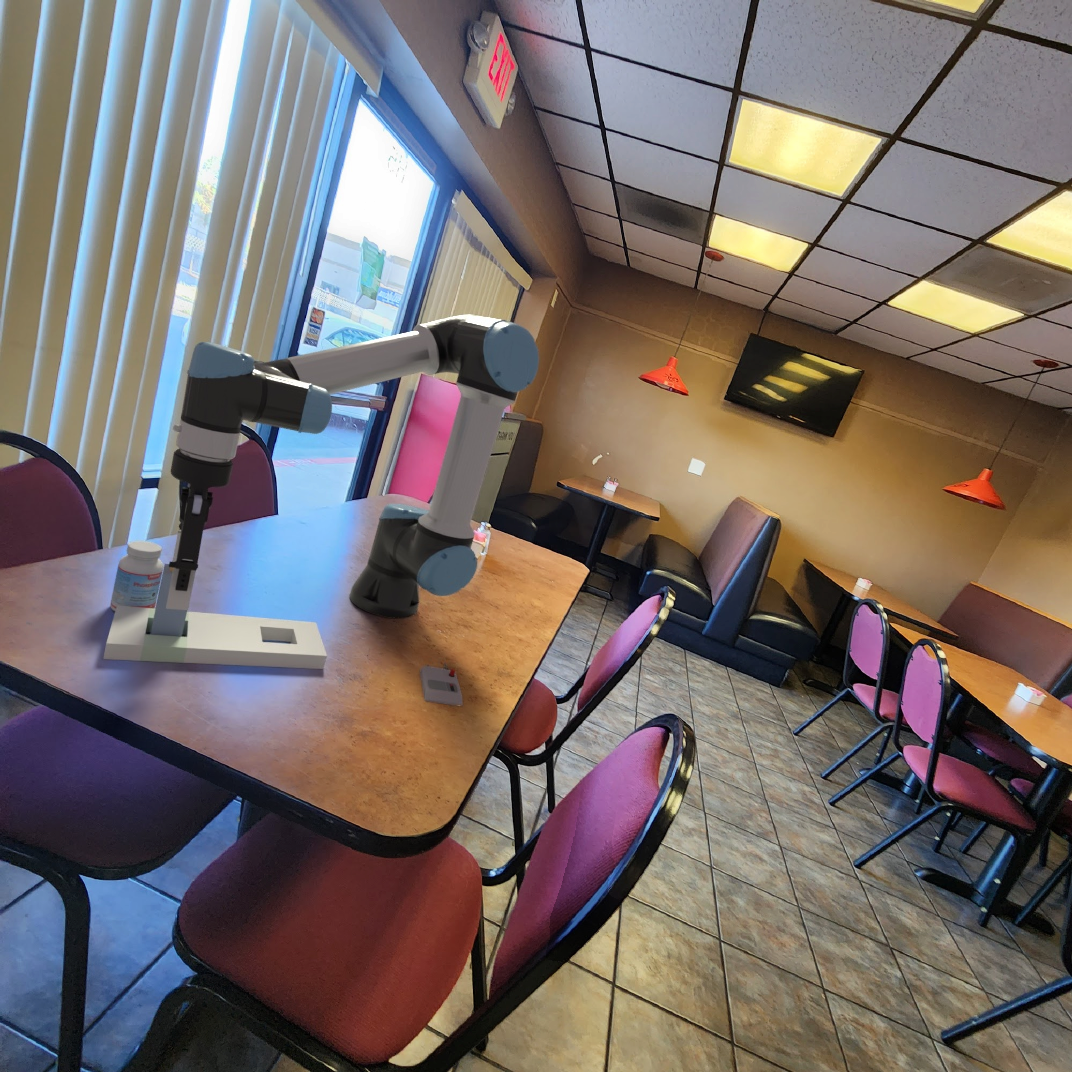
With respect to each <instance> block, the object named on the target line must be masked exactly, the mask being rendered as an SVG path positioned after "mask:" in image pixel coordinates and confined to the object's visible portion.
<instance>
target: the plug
mask: <svg viewBox="0 0 1072 1072" xmlns="http://www.w3.org/2000/svg"><path fill="white" fill-rule="evenodd" d="M172 573H173V568H172V567H169V563H164V564H163V571H162V576H161V581H160V586H159V591H158V595H157V600H156V605H155V613H154V618H153V623H152V628H151V632H149V635H164V636H179V637H183V635H182V632H183V628H184V623H185V619H186V614H187V611H188V610H177V609H166V604H167V599H168V594H169V589H170V583H171V578H172Z"/></svg>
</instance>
